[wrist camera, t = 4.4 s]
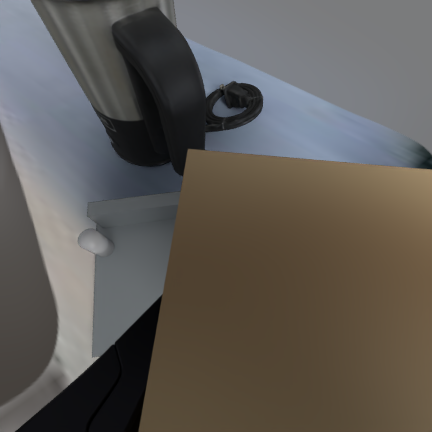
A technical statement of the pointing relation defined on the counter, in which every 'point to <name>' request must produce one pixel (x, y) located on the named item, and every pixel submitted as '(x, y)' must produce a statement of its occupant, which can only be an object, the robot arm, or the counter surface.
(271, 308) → the oak block
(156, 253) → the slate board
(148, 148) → the milk frother
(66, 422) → the robot arm
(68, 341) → the counter surface
